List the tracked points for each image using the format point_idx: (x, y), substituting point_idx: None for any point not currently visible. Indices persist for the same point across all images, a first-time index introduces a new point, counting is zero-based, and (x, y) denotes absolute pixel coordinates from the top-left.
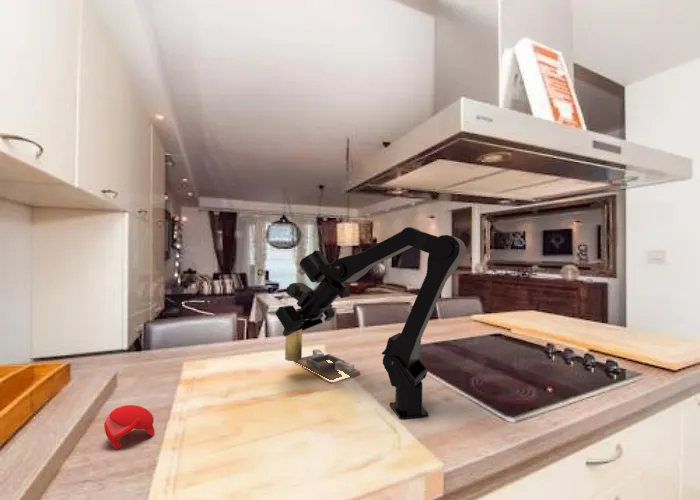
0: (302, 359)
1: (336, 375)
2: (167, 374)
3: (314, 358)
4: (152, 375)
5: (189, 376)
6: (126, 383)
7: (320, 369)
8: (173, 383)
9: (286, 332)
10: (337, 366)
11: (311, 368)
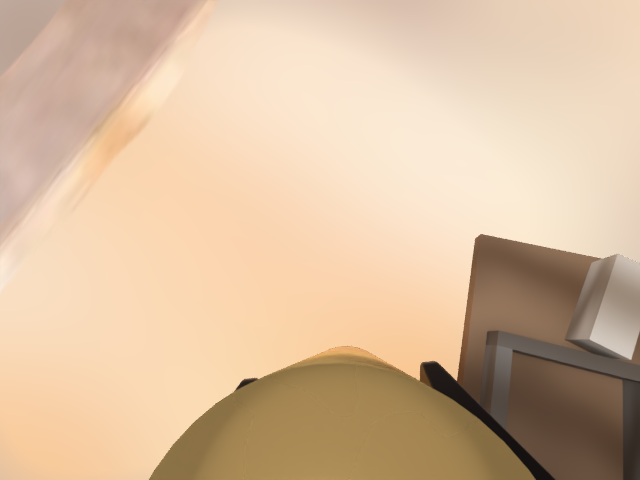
0: (511, 267)
1: None
2: (124, 54)
3: (538, 356)
4: (100, 38)
5: (145, 104)
6: (38, 50)
7: None
8: (89, 123)
9: None
10: None
11: None
